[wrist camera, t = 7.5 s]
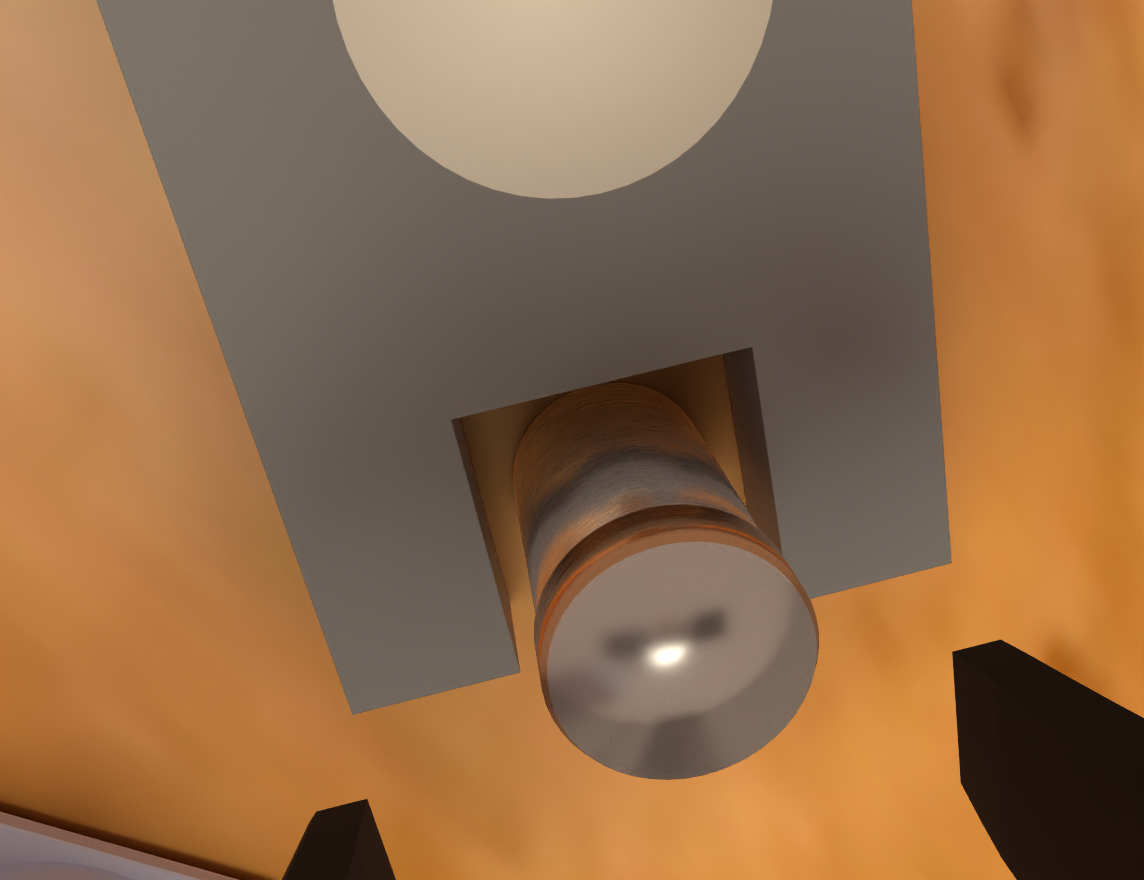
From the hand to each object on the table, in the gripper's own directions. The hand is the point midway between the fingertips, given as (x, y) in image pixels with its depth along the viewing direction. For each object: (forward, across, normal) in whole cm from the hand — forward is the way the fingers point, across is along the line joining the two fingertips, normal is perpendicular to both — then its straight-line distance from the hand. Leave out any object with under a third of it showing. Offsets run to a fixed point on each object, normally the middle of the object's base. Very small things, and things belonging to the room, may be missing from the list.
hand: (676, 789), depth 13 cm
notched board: (+10, -1, -5) cm, 11 cm away
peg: (+10, -1, 0) cm, 10 cm away
